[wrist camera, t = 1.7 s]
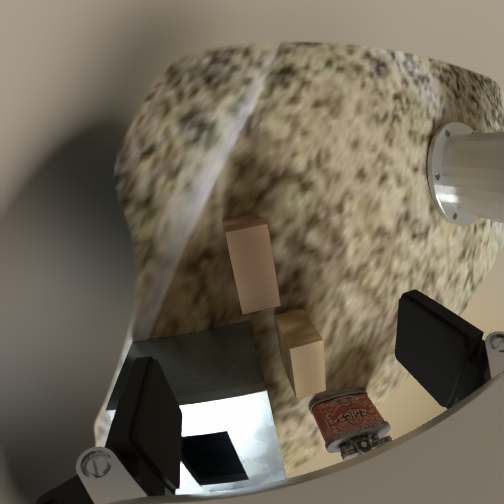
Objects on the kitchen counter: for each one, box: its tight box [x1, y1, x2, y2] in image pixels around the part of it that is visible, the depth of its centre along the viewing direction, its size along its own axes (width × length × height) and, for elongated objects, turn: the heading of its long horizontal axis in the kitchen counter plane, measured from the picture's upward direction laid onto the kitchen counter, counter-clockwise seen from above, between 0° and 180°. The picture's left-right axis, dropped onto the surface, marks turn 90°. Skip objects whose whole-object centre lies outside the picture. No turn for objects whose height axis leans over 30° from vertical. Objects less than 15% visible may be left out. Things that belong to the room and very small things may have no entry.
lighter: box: [309, 388, 393, 461], centre depth 27 cm, size 8×3×10 cm, turn 91°
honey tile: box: [274, 309, 326, 399], centre depth 25 cm, size 3×6×6 cm, turn 10°
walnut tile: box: [222, 213, 281, 314], centre depth 22 cm, size 3×6×6 cm, turn 10°
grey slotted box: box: [106, 322, 287, 495], centre depth 24 cm, size 12×16×10 cm
